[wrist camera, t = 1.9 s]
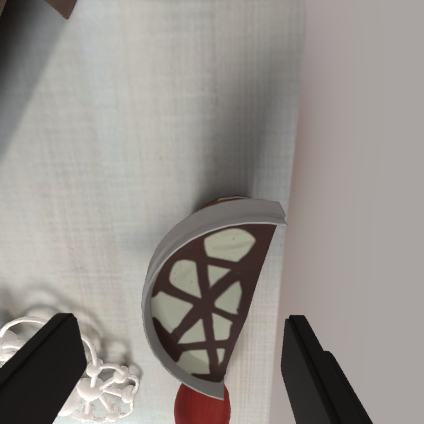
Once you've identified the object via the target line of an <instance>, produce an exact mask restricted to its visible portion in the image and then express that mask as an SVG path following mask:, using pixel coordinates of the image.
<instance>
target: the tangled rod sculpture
mask: <svg viewBox="0 0 424 424" xmlns="http://www.w3.org/2000/svg"><path fill="white" fill-rule="evenodd" d="M25 321H33V322H37V323H40V324H43V325H45V324H46V323H47V322H48V321H47V320H45V319H43V318H40V317H35V316H26V317H21V318H18V319H15V320H13V321H11V322H9V323H7V324H6V325H4V326H3V327H2V328H0V361H1V360H2V361H8V360H9V359H10V358H11V357H12V356H13V355H14V354H15V353H16V352H14V351H13V350H14V348H17V349H20V348H21V347H22V346H23V345H24V344H25V343H27V342H24V341H21V340H18V336H17V335H16V334H15V333H14V332H12V331H9V330H7V329H8V328H9V327H10V326H12V325H15V324H17V323H20V322H25ZM80 334H81V333H80ZM81 338H82V339H83V340H84V341H85V342H86V343H87V345H88V346H89V348H90V351H91V354H92V359H93V360H92V361H91V362H90V363H89V364H88V366H87V370H86V371H87V374H88V376H90V377H92V378H82V379H80V380H79V381H78V383H77V384H76V386H75V388H74V389H73V391H72V392H71V394H70V396H69V397H68V399H67V401H66V402H65V404H64V405H63V407H62V409H61V410H60V412H59V413H58V415H59V416H66V415H70V416H71V417H73V418H75V419H79V420H80V421H81V422H84V423H85V422H88V421H89V420H90V421H93V422H105V421H108V422H114V421H115V420H116V419H117V418H118V417H119V418H121V417H125V416H127V415H129V414H130V413H131V412H132V410H133V407H134V400H133V399H134V397H135V395H136V390H137V389H138V387H139V379H138V378H137V377H136V376H135V375H132V374H129V371H128V368H127V367H126V366H118V365H116V364H112V363H108V364H103V361H102V360H101V359H98V358H97V354H96V350H95V347H94V344H93V343H92V341H91V339H90V338H89V337H88V336H86V335H84V334H81ZM85 355H86V359H87V360H88V356H87V353H85ZM1 367H2V364H1V363H0V368H1ZM103 368H113V369H116V370H115V372H114V375H113V377H111V378H110V379H108V380H107V381H105V382H103V380H101V379H100V378H97V375H98V374H99V373H100V372H101V371H102V369H103ZM127 378H129V379H133V380H134V381H135V382H136V385H135V387H134V386H133V385H128V386H126V387H125V388H124V389H123V390H121V389H118V388H115V387H111V386H109V385H110V384H112V383H113V382H116V383H123V382H124V381H125V380H126V379H127ZM103 392H107V393H110V394H113V395H117V396H120V397H122V400H123V402H125V403H129V402H130V408H129V410H128V411H126V412H124V413H120V410H121V408H120V406H119V405H118V404H117V403H114V404H112V405H111V403H110V402H109V400H108V399H107V397H106V396H105V394H104V393H103ZM97 398H99V399H100V400H101V401H102V403H103V404H104V406H105V407H106V409H107V411H106V417H104V418H97V417H94V416H93V415H94V412H95V406H94V405H93V404H92V403H91V401H93V400H96V399H97ZM83 399H85V400H86V404H85V405H84V406H83V407H82V408H81V410H80V411H78V410H76V409H77V408H78V407H79V406H80V404H81V403H82V402H83Z"/></svg>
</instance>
